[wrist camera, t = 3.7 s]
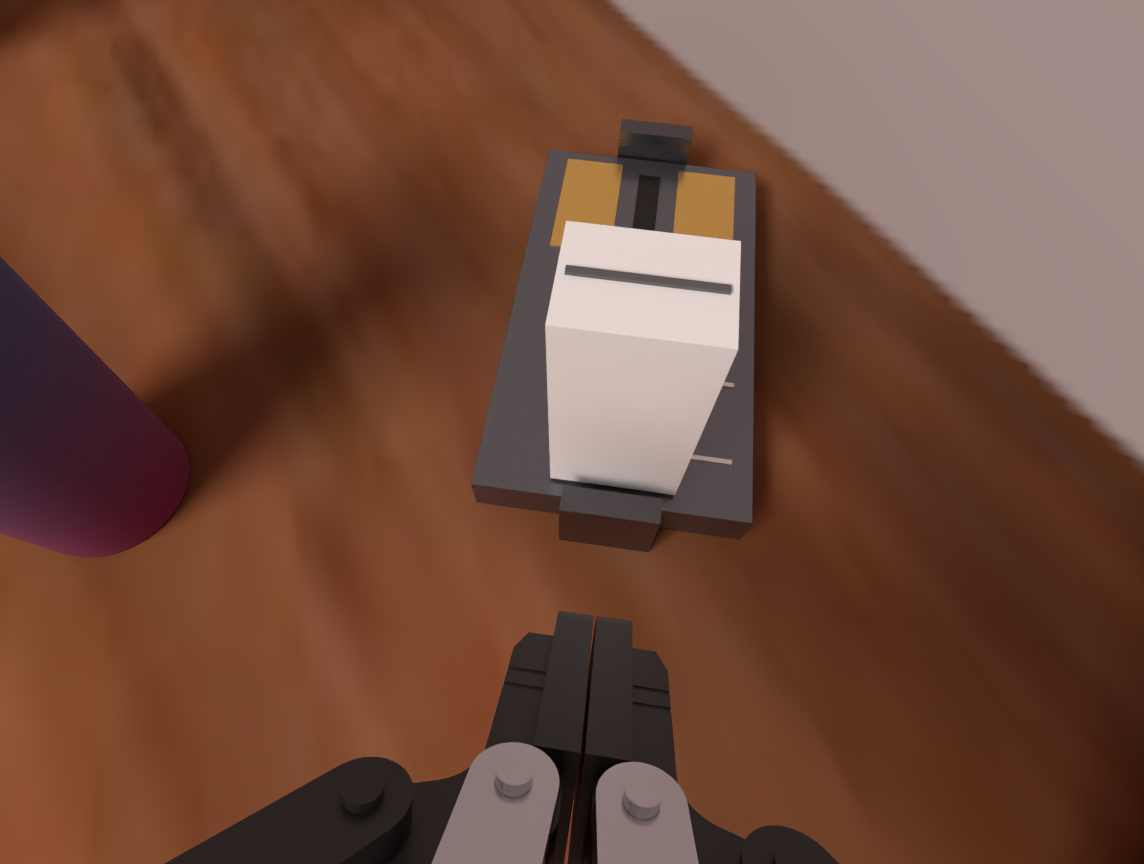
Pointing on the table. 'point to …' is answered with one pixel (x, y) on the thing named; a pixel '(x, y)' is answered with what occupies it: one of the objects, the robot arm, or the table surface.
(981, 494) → the table surface
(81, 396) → the cup
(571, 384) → the fader knob
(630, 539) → the console
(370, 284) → the table surface
